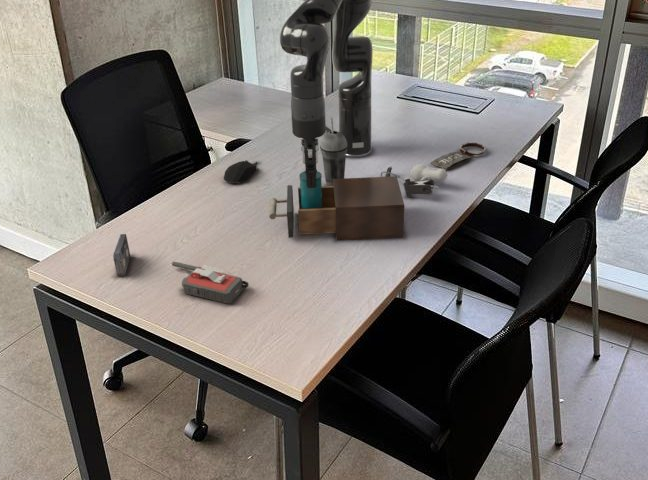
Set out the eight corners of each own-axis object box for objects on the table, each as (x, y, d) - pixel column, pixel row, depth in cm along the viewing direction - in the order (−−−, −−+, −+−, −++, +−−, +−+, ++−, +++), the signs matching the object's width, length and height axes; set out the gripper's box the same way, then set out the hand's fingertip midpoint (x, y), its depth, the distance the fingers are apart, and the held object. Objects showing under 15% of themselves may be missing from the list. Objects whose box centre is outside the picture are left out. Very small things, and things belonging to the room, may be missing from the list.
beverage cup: (352, 182, 197) (351, 111, 186) (343, 194, 191) (342, 122, 180) (326, 178, 199) (324, 109, 188) (317, 190, 193) (314, 119, 182)
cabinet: (336, 240, 171) (335, 207, 166) (333, 210, 184) (332, 178, 179) (403, 237, 171) (404, 204, 167) (396, 207, 184) (396, 176, 179)
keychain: (426, 163, 205) (426, 157, 204) (470, 144, 216) (471, 138, 215) (447, 172, 200) (447, 166, 199) (491, 152, 211) (492, 146, 210)
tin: (301, 213, 178) (299, 170, 172) (322, 212, 178) (321, 169, 172) (301, 224, 174) (299, 180, 168) (323, 223, 174) (321, 179, 168)
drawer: (270, 238, 171) (267, 212, 167) (271, 210, 182) (269, 186, 179) (350, 235, 171) (350, 209, 168) (347, 207, 183) (346, 182, 179)
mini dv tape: (123, 256, 167) (119, 234, 164) (130, 256, 167) (125, 233, 164) (117, 276, 160) (112, 253, 157) (124, 276, 160) (119, 253, 157)
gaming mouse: (266, 164, 207) (265, 152, 205) (239, 187, 196) (238, 173, 194) (247, 161, 209) (246, 148, 207) (219, 183, 198) (217, 169, 196)
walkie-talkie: (254, 284, 156) (175, 265, 163) (252, 267, 154) (173, 249, 161) (234, 307, 150) (152, 286, 157) (232, 289, 147) (149, 269, 154)
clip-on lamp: (373, 196, 196) (430, 201, 184) (368, 175, 193) (425, 178, 181) (397, 176, 203) (453, 179, 192) (392, 155, 200) (448, 157, 189)
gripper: (326, 124, 156) (328, 192, 164) (324, 101, 168) (326, 165, 177) (291, 126, 156) (295, 193, 164) (291, 102, 168) (295, 167, 176)
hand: (311, 179), depth 170 cm, fingers open, 8 cm apart
